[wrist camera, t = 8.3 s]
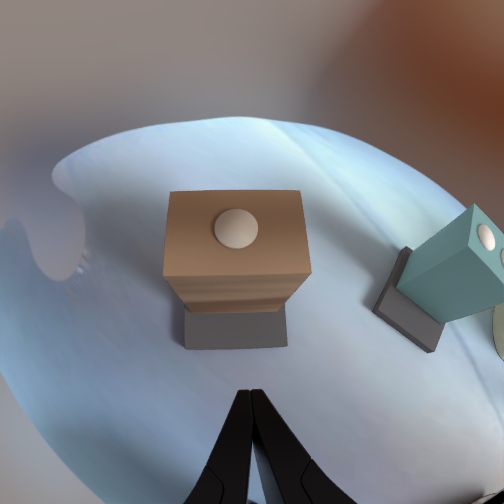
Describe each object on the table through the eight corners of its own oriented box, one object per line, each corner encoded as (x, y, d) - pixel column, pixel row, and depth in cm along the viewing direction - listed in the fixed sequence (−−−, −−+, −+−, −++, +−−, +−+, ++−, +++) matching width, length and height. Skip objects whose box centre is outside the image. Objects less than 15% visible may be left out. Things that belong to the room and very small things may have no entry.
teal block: (440, 324, 20) (517, 297, 11) (395, 288, 21) (469, 244, 12) (452, 288, 21) (520, 253, 13) (410, 252, 22) (475, 202, 14)
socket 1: (284, 346, 20) (287, 345, 19) (186, 349, 19) (184, 348, 18) (278, 258, 22) (280, 253, 21) (187, 259, 22) (185, 255, 21)
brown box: (277, 311, 19) (312, 271, 11) (192, 313, 19) (161, 274, 10) (273, 258, 21) (300, 188, 12) (193, 260, 20) (169, 189, 12)
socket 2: (427, 352, 20) (434, 351, 19) (372, 311, 21) (377, 309, 20) (450, 291, 22) (456, 288, 21) (401, 250, 23) (406, 245, 22)
